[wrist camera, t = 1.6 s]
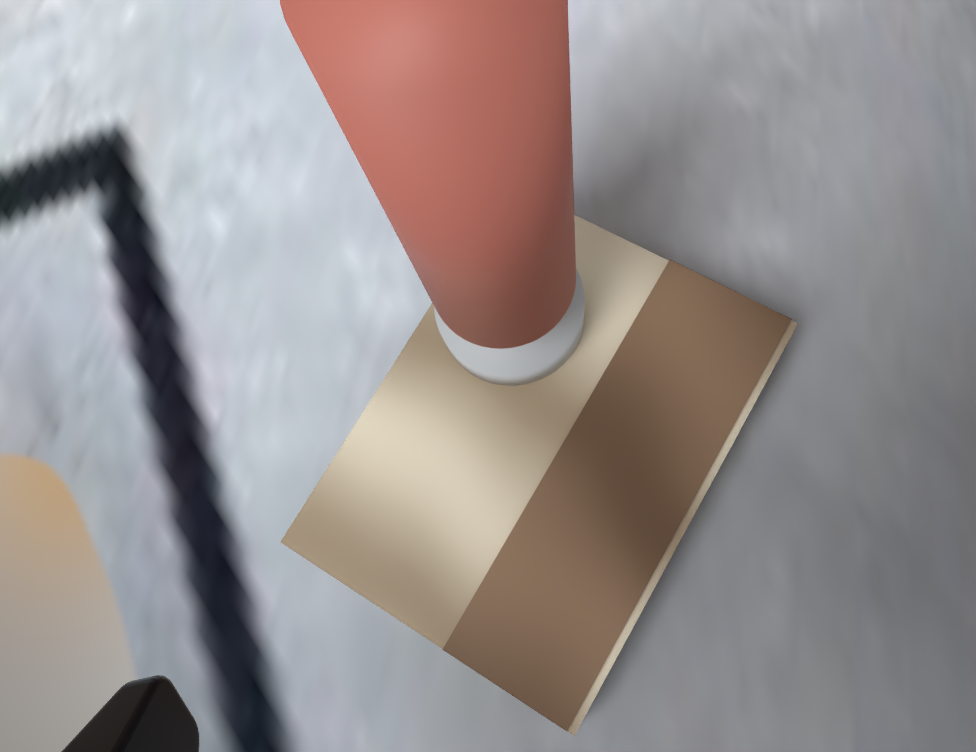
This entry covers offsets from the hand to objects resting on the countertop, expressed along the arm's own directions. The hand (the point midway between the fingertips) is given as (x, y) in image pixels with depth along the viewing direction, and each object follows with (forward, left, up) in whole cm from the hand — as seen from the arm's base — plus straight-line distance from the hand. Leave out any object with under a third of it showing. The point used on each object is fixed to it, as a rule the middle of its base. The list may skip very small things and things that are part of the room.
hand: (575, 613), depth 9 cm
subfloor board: (+3, +3, -13) cm, 14 cm away
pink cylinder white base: (+6, +5, -12) cm, 15 cm away
